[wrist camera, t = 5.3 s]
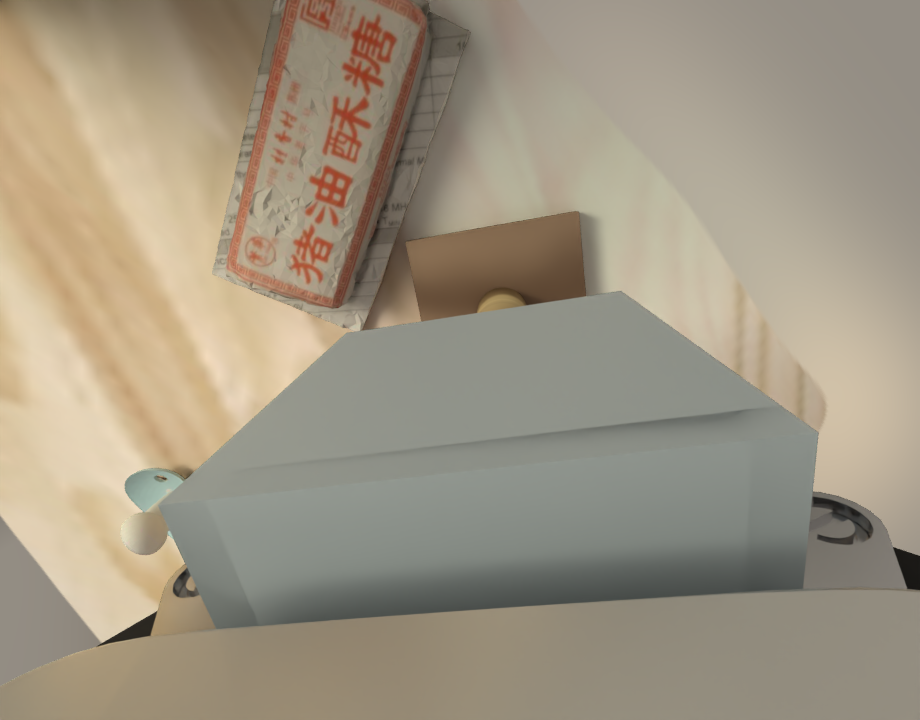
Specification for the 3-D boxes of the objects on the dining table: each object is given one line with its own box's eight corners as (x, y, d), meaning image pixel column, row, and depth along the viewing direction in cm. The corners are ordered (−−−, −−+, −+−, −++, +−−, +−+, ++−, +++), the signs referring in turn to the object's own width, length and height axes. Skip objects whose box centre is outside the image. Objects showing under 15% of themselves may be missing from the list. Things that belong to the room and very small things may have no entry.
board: (409, 240, 27) (387, 249, 22) (575, 211, 26) (595, 213, 21) (463, 511, 34) (457, 569, 28) (600, 498, 32) (620, 557, 27)
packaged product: (250, -106, 19) (467, -2, 19) (298, -46, 23) (472, 37, 24) (174, 284, 25) (342, 354, 25) (224, 272, 29) (365, 331, 30)
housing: (346, 333, 12) (158, 505, 5) (621, 291, 11) (818, 432, 4) (403, 546, 14) (322, 856, 7) (634, 525, 13) (776, 854, 7)
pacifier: (191, 544, 37) (237, 513, 36) (131, 609, 31) (183, 575, 30) (124, 482, 36) (168, 446, 34) (48, 539, 30) (97, 499, 28)
